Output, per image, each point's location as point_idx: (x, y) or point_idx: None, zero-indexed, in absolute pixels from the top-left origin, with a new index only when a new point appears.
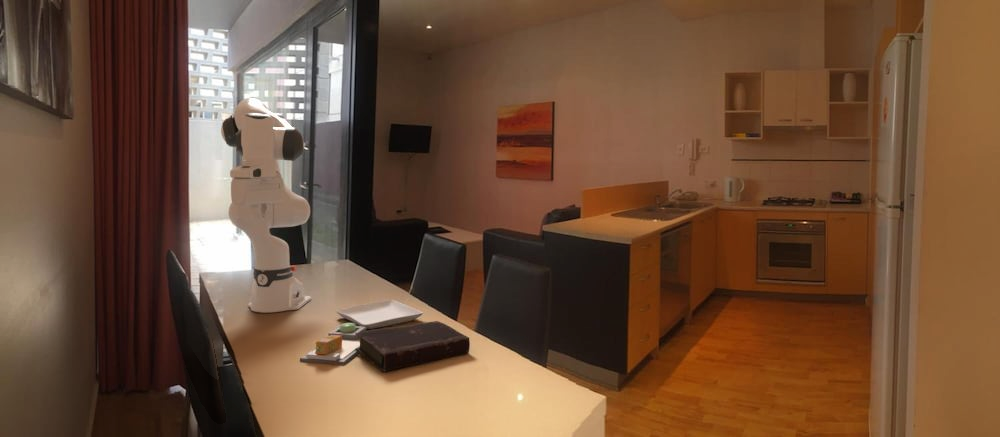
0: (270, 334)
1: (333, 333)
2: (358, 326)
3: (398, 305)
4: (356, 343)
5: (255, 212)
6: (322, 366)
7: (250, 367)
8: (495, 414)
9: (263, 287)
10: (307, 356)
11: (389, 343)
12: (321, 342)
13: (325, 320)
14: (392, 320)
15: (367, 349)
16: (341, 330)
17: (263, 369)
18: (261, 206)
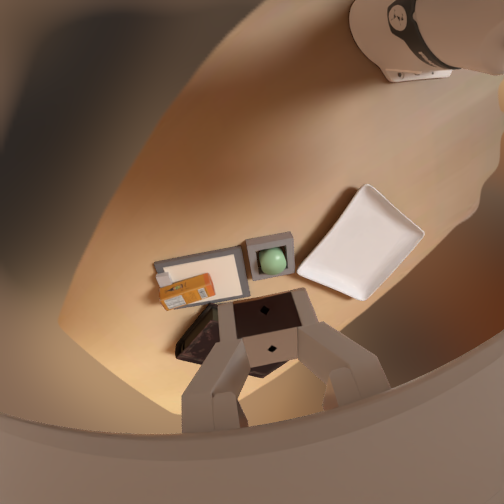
0: (233, 131)
1: (248, 253)
2: (293, 262)
3: (403, 252)
4: (234, 290)
5: (214, 361)
6: (157, 292)
7: (104, 225)
8: (164, 397)
9: (387, 21)
10: (156, 276)
11: (205, 351)
12: (162, 305)
13: (341, 169)
14: (331, 285)
15: (201, 326)
16: (261, 259)
17: (110, 244)
18: (327, 385)
